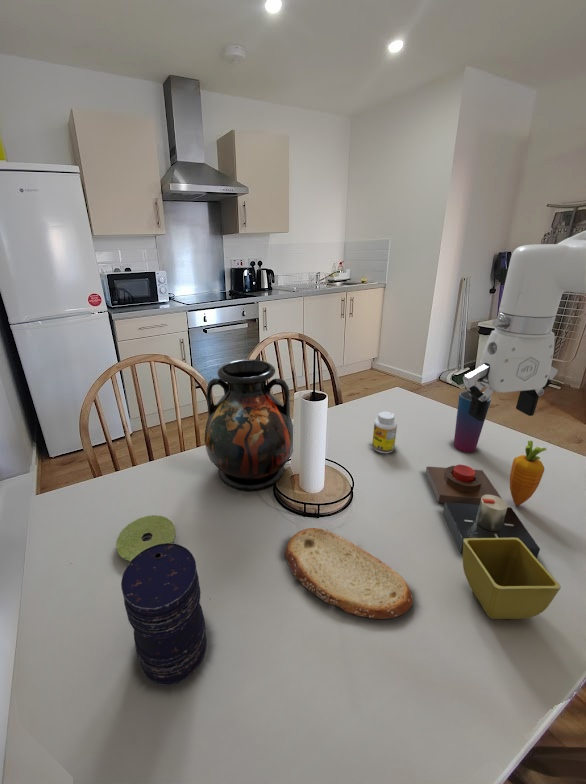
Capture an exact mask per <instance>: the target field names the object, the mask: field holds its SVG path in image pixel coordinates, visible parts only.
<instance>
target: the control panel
mask: <svg viewBox="0 0 586 784" xmlns="http://www.w3.org/2000/svg"><path fill="white" fill-rule="evenodd" d="M478 509H479V505H475V504H463V503H451V502H445V504H443V510H442V515H443V517H444V520H445V522H446V524H447V526H448V529H449V530H450V533H451V535H452V538H453V539H454V542H455V544H456V547H457V548H458V551H459V553H460V554H462V555H463V539H466V538H518V539H520V540H521V541H522V542H523V543H524V544H525V546H526V547H527V548H528V549H529V550H530V552H531V553H532V554H533V555H534V557H535V558H536V559H537V560H538V557H539V553H540V551H541V548H540V546H539V545H538V544H537V542H536V540H534V538H533V536H532V535H531V534H530V532H529V531H528V529H527V528H526V527H525V525H524V524H523V522H522V521H521V520H520V518H519V516H518V515H517V514H516V512H515V511H514V509H513V508H512V507H510V506H508V507H507V511H506V514H505V518H504V521H503V525H502V528H501V530H499V531H489V530H487V529H484V528H483V527H481V526H480V525H479V524H478V523H477V521H476V517H477V513H478Z"/></svg>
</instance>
